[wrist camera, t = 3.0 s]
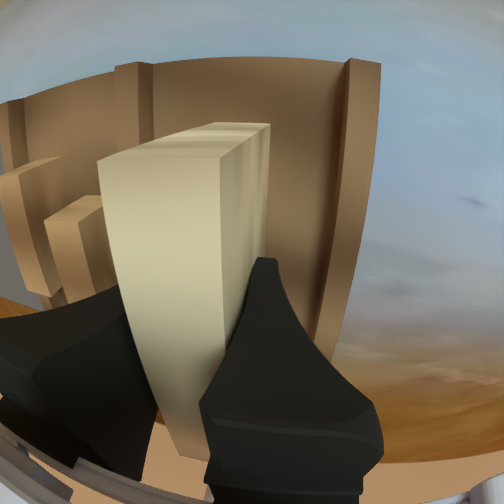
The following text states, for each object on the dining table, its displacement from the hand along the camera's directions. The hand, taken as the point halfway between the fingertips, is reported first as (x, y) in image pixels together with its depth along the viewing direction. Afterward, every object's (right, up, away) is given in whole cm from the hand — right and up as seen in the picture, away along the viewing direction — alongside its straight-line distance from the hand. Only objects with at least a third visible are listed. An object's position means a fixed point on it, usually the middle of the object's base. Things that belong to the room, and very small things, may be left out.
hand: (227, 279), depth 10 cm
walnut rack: (-3, +2, +3) cm, 5 cm away
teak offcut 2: (-6, +1, +3) cm, 7 cm away
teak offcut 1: (-9, +3, +3) cm, 10 cm away
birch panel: (0, +1, +2) cm, 2 cm away
